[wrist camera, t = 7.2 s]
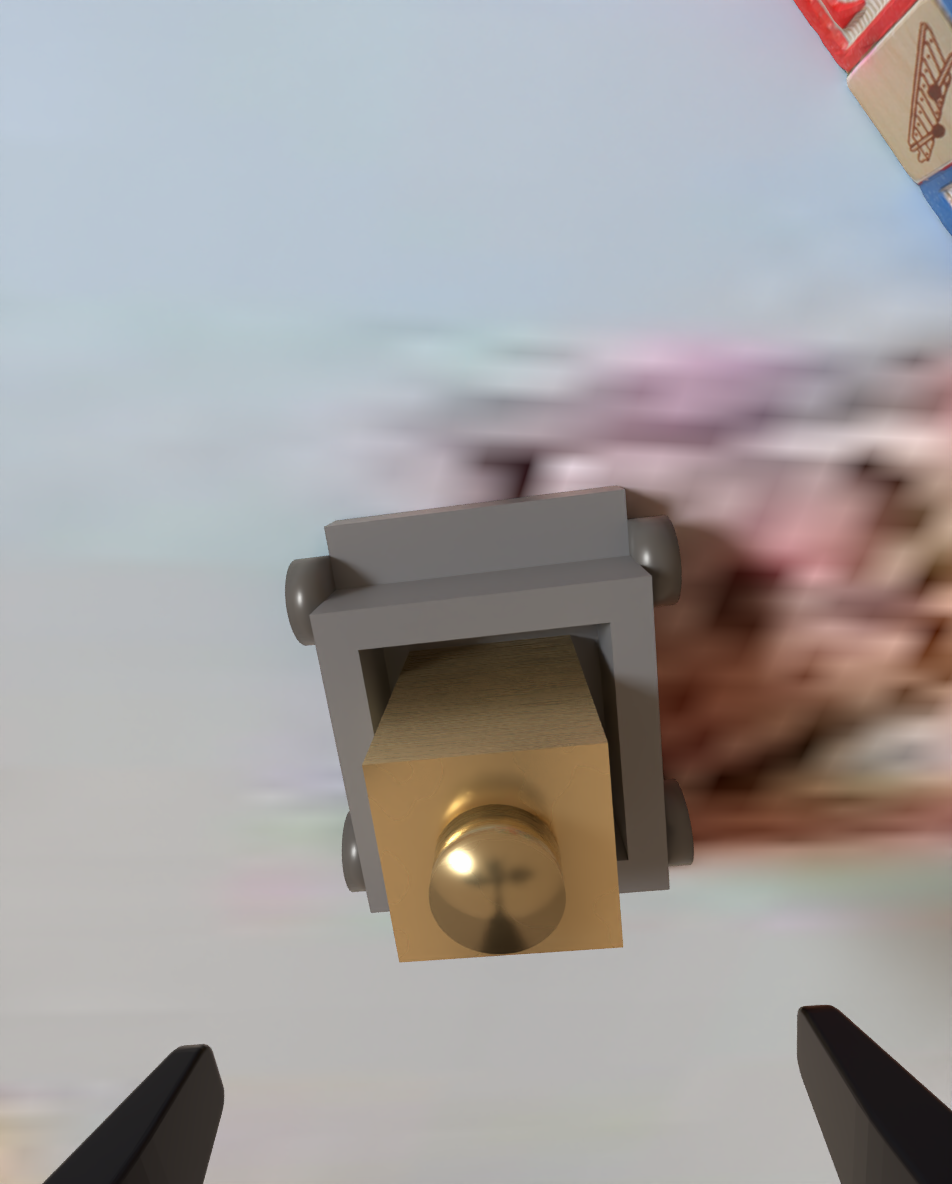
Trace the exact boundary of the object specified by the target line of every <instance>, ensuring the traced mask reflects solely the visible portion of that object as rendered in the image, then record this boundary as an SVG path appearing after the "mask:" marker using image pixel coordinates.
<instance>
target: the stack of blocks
mask: <svg viewBox="0 0 952 1184" xmlns="http://www.w3.org/2000/svg"><path fill="white" fill-rule="evenodd" d="M794 2H795V3H796V5H797V6H798V8H799V9H800V10H801V12H802V13H803V15H804V16H805V18H806V19H807V21H808V22H809V24H810V25H811V26H812V27H813V28H814V30H815V31H816V32H817V33H818V35H819V36H820V38H821V40H822V42H823V44H824V45H825V46H826V48H827V49H828V50H829V52H830V53H831V55H832V56H833V58H834V59H835V61H836V62H837V63H838V64H839V65H840V66H841V67H842V68H843V69H844V70H846V72H847V74H848V76H847V79H846V80H847V85H848V88H849V89H850V90H851V92H852V93H853V95H854V96H855V98H856V99H857V100H858V102H859V103H860V105H861V106H862V108H863V109H864V110H865V112H866V113H867V115H868V116H869V118H870V119H871V120H872V122H873V123H874V125H875V126H876V128H877V129H878V130H879V132H880V133H881V135H882V136H883V138H884V139H885V141H886V142H887V144H888V145H889V147H890V148H891V150H892V151H893V153H894V154H895V156H896V157H897V158H898V160H899V161H900V163H901V164H902V166H903V167H904V169H905V170H906V172H907V173H908V174H909V176H910V177H911V178H912V180H913V181H914V182H916V183H917V184H918V185H919V186H920V188H921V190H922V193H923V195H924V197H925V198H926V200H927V201H928V203H929V204H930V206H931V207H932V209H933V210H934V211H935V213H936V214H937V215H938V216H939V218H940V220H941V222H942V223H943V225H944V226H945V228H946V229H947V230H948V231H949V233H950V234H951V235H952V0H794Z"/></svg>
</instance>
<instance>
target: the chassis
mask: <svg viewBox="0 0 952 1184" xmlns="http://www.w3.org/2000/svg"><path fill="white" fill-rule="evenodd" d="M324 529H325V534H326V540H327V545H328V550H329V556H321V557H313V558H304V559H296V560H294V561H292V563H291V564H290V566H289V568H288V571H287V575H286V583H285V598H286V607H287V613H288V618H289V622H290V625H291V628H292V630H293V633H294V635H295V636H296V638H297V640H298V641H299V642H300V643H301V644H303V645H305V646H307V645H316V650H317V655H318V660H319V664H320V669H321V674H322V679H323V684H324V689H325V693H326V698H327V703H328V708H329V713H330V718H331V723H332V727H333V732H334V737H335V742H336V747H337V752H338V756H339V761H340V766H341V771H342V776H343V781H344V785H345V790H346V795H347V800H348V805H349V810H350V811H349V812H348V814H347V817H346V820H345V824H344V829H343V837H342V864H343V872H344V877H345V881H346V884H347V886H348V888H349V890H350V891H351V892H359V891H366V892H367V897H368V902H369V906H370V911H371V913H375V912H388V911H390V910H389V904H388V899H387V894H386V889H385V883H384V878H383V873H382V868H381V862H380V857H379V852H378V847H377V841H376V836H375V831H374V826H373V820H372V815H371V810H370V804H369V799H368V794H367V789H366V783H365V778H364V773H363V768H362V764H363V761H364V759H365V757H366V754H367V752H368V749H369V747H370V745H371V742H372V740H373V738H374V735H375V733H376V730H377V728H378V726H379V723H380V721H381V718H382V716H383V714H384V711H385V709H386V706H387V704H388V702H389V699H390V697H391V694H392V692H393V690H394V687H395V685H396V682H397V680H398V678H399V675H400V673H401V670H402V668H403V666H404V663H405V661H406V658H407V656H408V654H409V651H417V650H427V649H436V648H446V647H456V646H465V645H475V644H485V643H494V642H504V641H514V640H523V639H533V638H543V637H553V636H562V635H570V637H571V640H572V643H573V645H574V648H575V651H576V654H577V657H578V660H579V662H580V665H581V668H582V671H583V674H584V677H585V679H586V682H587V685H588V688H589V691H590V694H591V696H592V699H593V702H594V705H595V708H596V711H597V713H598V716H599V719H600V722H601V725H602V728H603V730H604V733H605V736H606V739H607V742H608V751H609V765H610V778H611V791H612V805H613V818H614V832H615V845H616V858H617V872H618V885H619V893H630V892H643V891H655V890H668V889H669V871H668V866H679V865H691V864H692V862H693V855H694V847H693V836H692V829H691V823H690V818H689V814H688V809H687V806H686V802H685V799H684V796H683V793H682V791H681V788H680V786H679V784H678V782H677V781H676V780H675V779H666V780H663V766H662V748H661V731H660V713H659V695H658V678H657V660H656V642H655V625H654V607H659V606H668V605H675V604H676V603H677V602H678V599H679V596H680V591H681V559H680V552H679V546H678V541H677V537H676V533H675V530H674V527H673V525H672V523H671V521H670V519H669V518H668V516H666V515H659V516H651V517H642V518H634V519H627V510H626V495H625V489H623V488H621V487H619V486H609V487H601V488H593V489H585V490H577V491H569V492H561V493H553V494H545V495H537V496H529V497H521V498H513V499H505V500H497V501H489V502H481V503H473V504H465V505H457V506H449V507H441V508H433V509H425V510H417V511H409V512H401V513H393V514H385V515H377V516H369V517H361V518H353V519H345V520H337V521H334V522H332V523H331V524H329V525H327V526H325V527H324Z"/></svg>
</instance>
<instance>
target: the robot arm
mask: <svg viewBox="0 0 952 1184" xmlns="http://www.w3.org/2000/svg"><path fill="white" fill-rule="evenodd" d="M797 1060H798V1065H799V1069H800V1073H801V1076H802V1079H803V1082H804V1085H805V1088H806V1090H807V1093H808V1096H809V1098H810V1101H811V1104H812V1106H813V1109H814V1112H815V1114H816V1117H817V1120H818V1123H819V1125H820V1128H821V1131H822V1133H823V1136H824V1139H825V1141H826V1144H827V1147H828V1150H829V1152H830V1155H831V1158H832V1160H833V1163H834V1166H835V1168H836V1171H837V1174H838V1177H839V1179H840V1182H841V1184H952V1110H951V1109H949V1108H948V1107H947V1106H946V1105H945V1104H944V1103H943V1102H942V1101H940V1100H939V1099H938V1098H937V1097H936V1096H935V1095H934V1094H933V1093H931V1092H930V1091H929V1090H928V1089H927V1088H926V1087H925V1086H924V1085H922V1084H921V1083H920V1082H919V1081H918V1080H917V1079H916V1078H915V1077H914V1076H912V1075H911V1074H910V1073H909V1072H908V1071H907V1070H906V1069H905V1068H903V1067H902V1066H901V1065H900V1064H899V1063H898V1062H897V1061H896V1060H894V1059H893V1058H892V1057H891V1056H890V1055H889V1054H888V1053H887V1052H886V1051H884V1050H883V1049H882V1048H881V1047H880V1046H879V1045H878V1044H877V1043H875V1042H874V1041H873V1040H872V1039H871V1038H870V1037H869V1036H868V1035H866V1034H865V1033H864V1032H863V1031H862V1030H861V1029H860V1028H859V1027H858V1026H856V1025H855V1024H854V1023H853V1022H852V1021H851V1020H850V1019H849V1018H847V1017H846V1016H845V1015H844V1014H843V1013H842V1012H841V1011H839V1010H838V1009H837V1008H835V1007H833V1006H831V1005H814V1006H803V1007H801V1008H800V1009H799V1011H798V1015H797ZM223 1105H224V1088H223V1084H222V1080H221V1077H220V1074H219V1071H218V1067H217V1064H216V1061H215V1058H214V1054H213V1051H212V1049H211V1048H210V1047H209V1046H208V1045H206V1044H199V1045H184V1046H180V1047H178V1048H177V1049H175V1050H174V1051H173V1052H171V1053H170V1054H169V1055H168V1056H167V1057H166V1058H165V1059H164V1060H163V1061H162V1063H161V1064H160V1065H159V1066H158V1067H157V1068H156V1069H155V1070H154V1071H153V1072H152V1073H151V1074H150V1075H149V1076H148V1077H147V1078H146V1079H145V1080H144V1081H143V1082H142V1083H141V1084H140V1085H139V1086H138V1087H137V1088H136V1089H135V1090H134V1091H133V1092H132V1093H131V1094H130V1095H129V1096H128V1097H127V1098H126V1099H125V1100H124V1101H123V1102H122V1103H121V1104H120V1105H119V1106H118V1107H117V1108H116V1109H115V1110H114V1111H113V1112H112V1113H111V1114H110V1115H109V1116H108V1117H107V1118H106V1119H105V1121H104V1122H103V1123H102V1124H101V1125H100V1126H99V1127H98V1128H97V1129H96V1130H95V1131H94V1132H93V1133H92V1134H91V1135H90V1136H89V1137H88V1138H87V1139H86V1140H85V1141H84V1142H83V1143H82V1144H81V1145H80V1146H79V1147H78V1148H77V1149H76V1150H75V1151H74V1152H73V1153H72V1154H71V1155H70V1156H69V1157H68V1158H67V1159H66V1160H65V1161H64V1162H63V1163H62V1164H61V1165H60V1166H59V1167H58V1168H57V1169H56V1170H55V1171H54V1172H53V1173H52V1174H51V1175H50V1176H49V1178H48V1179H47V1180H46V1181H45V1182H44V1183H43V1184H203V1182H204V1178H205V1175H206V1171H207V1167H208V1163H209V1160H210V1156H211V1152H212V1148H213V1145H214V1141H215V1137H216V1133H217V1130H218V1126H219V1122H220V1118H221V1115H222V1110H223Z"/></svg>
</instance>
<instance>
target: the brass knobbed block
mask: <svg viewBox="0 0 952 1184" xmlns="http://www.w3.org/2000/svg"><path fill="white" fill-rule="evenodd" d="M362 768H363V773H364V778H365V783H366V789H367V794H368V799H369V804H370V810H371V815H372V820H373V826H374V831H375V836H376V841H377V847H378V852H379V857H380V862H381V868H382V873H383V878H384V883H385V889H386V894H387V899H388V904H389V910H390V915H391V920H392V926H393V931H394V936H395V941H396V947H397V952H398V957H399V962H412V961H426V960H441V959H456V958H471V957H486V956H500V955H515V954H530V953H545V952H560V951H574V950H589V949H604V948H619V947H623V939H622V925H621V912H620V899H619V885H618V872H617V858H616V845H615V832H614V818H613V805H612V791H611V778H610V765H609V751H608V742H607V739H606V736H605V733H604V730H603V728H602V725H601V722H600V719H599V716H598V713H597V711H596V708H595V705H594V702H593V699H592V696H591V694H590V691H589V688H588V685H587V682H586V679H585V677H584V674H583V671H582V668H581V665H580V662H579V660H578V657H577V654H576V651H575V648H574V645H573V643H572V640H571V637H570V635H562V636H553V637H543V638H533V639H523V640H514V641H504V642H494V643H485V644H475V645H465V646H456V647H446V648H436V649H427V650H417V651H409V654H408V656H407V658H406V661H405V663H404V666H403V668H402V670H401V673H400V675H399V678H398V680H397V682H396V685H395V687H394V690H393V692H392V694H391V697H390V699H389V702H388V704H387V706H386V709H385V711H384V714H383V716H382V718H381V721H380V723H379V726H378V728H377V730H376V733H375V735H374V738H373V740H372V742H371V745H370V747H369V749H368V752H367V754H366V757H365V759H364V761H363V764H362Z"/></svg>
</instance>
